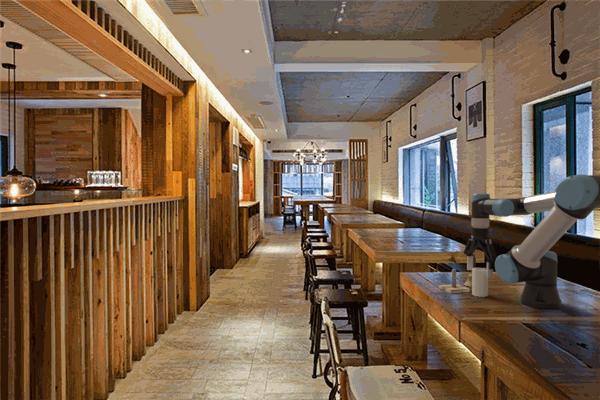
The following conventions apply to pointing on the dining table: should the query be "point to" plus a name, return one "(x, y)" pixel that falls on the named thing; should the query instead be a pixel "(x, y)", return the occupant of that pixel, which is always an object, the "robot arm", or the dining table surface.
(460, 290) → the stand
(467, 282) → the hand bell
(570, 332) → the dining table surface
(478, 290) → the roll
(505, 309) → the dining table surface
